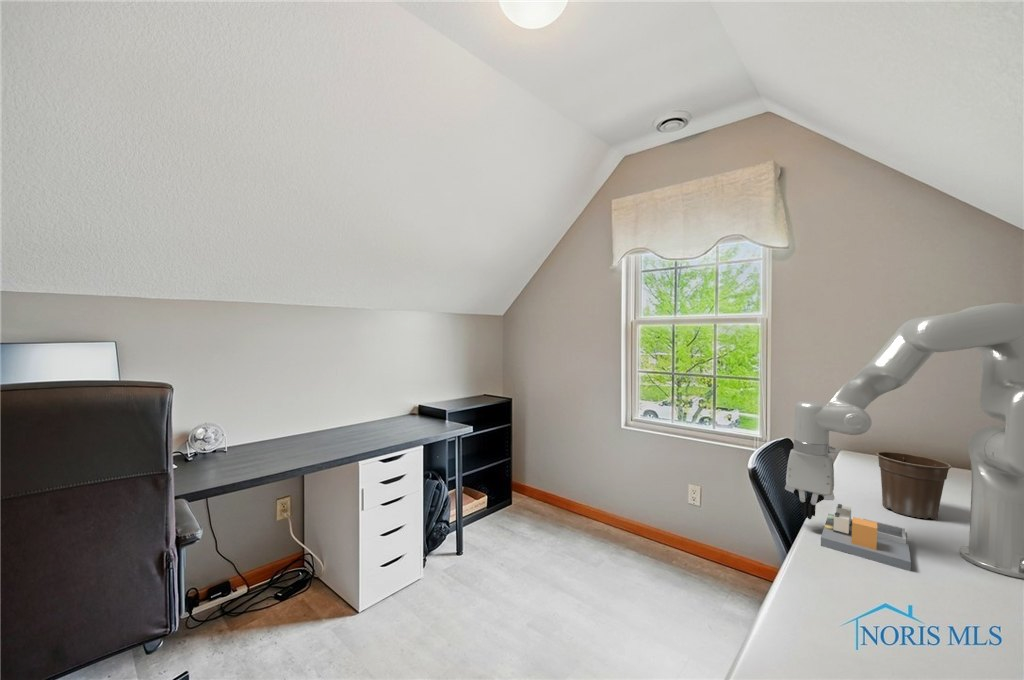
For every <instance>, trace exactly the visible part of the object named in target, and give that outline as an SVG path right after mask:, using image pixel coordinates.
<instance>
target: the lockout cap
mask: <svg viewBox="0 0 1024 680" xmlns="http://www.w3.org/2000/svg"><path fill="white" fill-rule="evenodd" d="M852 519H853V521H852V542H851V543H852V544H856V545H859V546H863V547H867V548H870V549H874V550H876V547H877V522H878V521H875V522H872V521H873V520H871V521H868V520H869V519H867V520H864V519H865V518H859V517H855V516H852Z"/></svg>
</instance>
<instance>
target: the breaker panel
mask: <svg viewBox="0 0 1024 680" xmlns="http://www.w3.org/2000/svg"><path fill="white" fill-rule="evenodd" d="M863 519H864V520H868V521H872V522H877V547H876V550H874V549H870V548H867V547H863V546H859V545H856V544H852V543H851V542H852V521H853V518H851V523H850V524H849V534H847V533H843V532H840V531H836V530H833V528H834V514H832V513H828V514H827V518H826V520H825V523H824V527H823V528H822V529H823V530H822V532H821V535H820V546H821V547H825V548H828V549H832V550H836V551H839V552H843V553H845V554H849V555H853V556H856V557H860V558H863V559H867V560H871V561H874V562H878V563H881V564H883V565H888V566H892V567H895V568H898V569H901V570H905V571H908V572H911V570H912V567H911V565H912V561H911V553H910V547H909V539H908V534H907V532H906V528H904V527H900V526H895V525H892V524H887V523H883V522H879V521H875V520H871V519H866V518H863Z"/></svg>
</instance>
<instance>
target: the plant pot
mask: <svg viewBox="0 0 1024 680" xmlns="http://www.w3.org/2000/svg"><path fill="white" fill-rule="evenodd" d="M876 456H877V459H878V467H879V470H880V481H881V497H882V498H881V500H882V501H881V502H882V506H883V507H884V508H885V507H886V509H887V508H888V509H887V510H891V511H892V512H894V513H896V514H899V513H900V514H899V515H902V514H903V516H905V515H906V516H905V517H909V516H911V517H910V518H913V517H917V518H916V519H920V518H924V519H923V520H927V519H929V518H931V519H930V520H932V519H933V520H936V519H935V518H937V519H938V518H939V517H938V516H939V511H940V505H941V499H942V495H943V490H944V486H945V481H946V480H947V478H948V473H949V470H950V469H951V468H952V465H951V464H950V463H947V462H944V461H942V460H939V459H936V458H931V457H926V456H922V455H916V454H911V453H906V452H905V453H904V452H896V451H877V452H876Z"/></svg>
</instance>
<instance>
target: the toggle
mask: <svg viewBox="0 0 1024 680" xmlns="http://www.w3.org/2000/svg"><path fill="white" fill-rule="evenodd" d="M835 511H836V512H837V513H840V514H842V515H847V516H850V523H851V519H852V507H851V506H846V505H843V504H842V503H841V504H840V503H838V504H837V505H836V510H835ZM836 512H835V513H836Z"/></svg>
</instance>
